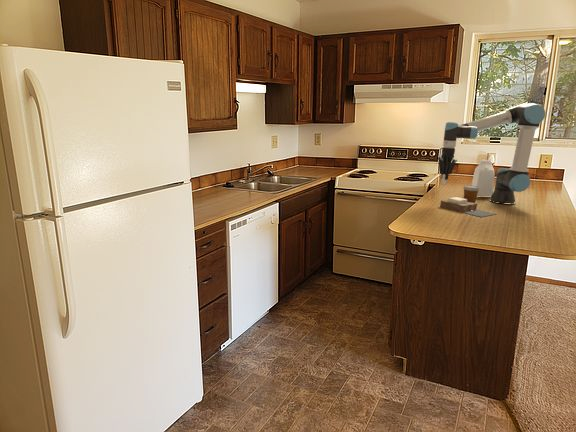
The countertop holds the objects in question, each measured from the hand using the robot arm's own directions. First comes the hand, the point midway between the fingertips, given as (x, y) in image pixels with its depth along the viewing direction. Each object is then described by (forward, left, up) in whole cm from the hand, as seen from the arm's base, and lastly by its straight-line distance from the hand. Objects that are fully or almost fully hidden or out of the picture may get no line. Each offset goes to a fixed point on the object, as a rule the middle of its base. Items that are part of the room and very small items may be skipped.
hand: (443, 184), depth 274 cm
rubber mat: (0, +27, -13) cm, 30 cm away
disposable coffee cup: (-17, +8, -14) cm, 23 cm away
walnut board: (0, +12, -13) cm, 18 cm away
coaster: (0, +11, -9) cm, 15 cm away
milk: (-51, -6, -14) cm, 53 cm away
